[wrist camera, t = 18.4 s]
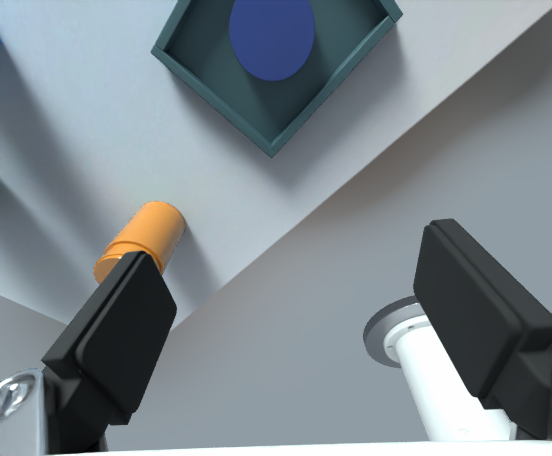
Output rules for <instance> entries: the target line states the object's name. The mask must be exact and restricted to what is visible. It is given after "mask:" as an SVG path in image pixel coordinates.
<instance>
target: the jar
mask: <svg viewBox="0 0 552 456" xmlns="http://www.w3.org/2000/svg"><path fill="white" fill-rule="evenodd" d="M185 227H186V226H185V220H184V218H183V216H182V214H181V213H180V212H179V211H178V210H177V209H176V208H175V207H173V206H171V205H169V204H167V203H164V202H159V201H153V202H148V203H146V204H144V205H142V206H141V207H140V208H139V210H138V211H137V212H136V213H135V214H134V216H133V217H132V218H131V219H130V220H129V221H128V223H127V224H126V225H125V226H124V227H123V228H122V230H121V231H120V232H119V233H118V234H117V235H116V237H115V238H114V239H113V240H112V241H111V242H110V244H109V245H108V246H107V247H106V249H105V251H104V255H103V257H101V258H100V259H99V260H98V261H97V262H96V264H95V266H94V275H95V279H96V280H97V282H98V283H99V284H101V283H102V281H103V280H104V279H105V278H106V276H107V275H108V274H109V273H110V271H111V270H112V269H113V267H114V266H115V265H116V264H117V262H118V261H119V260H120V258H121V257H122V256H123V255H124V254H125V253H126V252H132V251H145V252H146V253H147V254H150V255H151V256H152V257H153V259H154V261H155V263H156V265H157V268H158V270H159V272H160V274H161V276H162V275H163V273H164V271H165V269H166V267H167V265H168V263H169V261H170V259H171V257H172V255H173V253H174V251H175V249H176V247H177V245H178V243H179V241H180V239H181V237H182V235H183V233H184V231H185Z"/></svg>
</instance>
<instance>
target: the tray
mask: <svg viewBox="0 0 552 456" xmlns="http://www.w3.org/2000/svg"><path fill="white" fill-rule="evenodd" d="M235 1H236V0H178V1H177V3H176V5H175V7H174V9H173V11H172V13H171V15H170V16H169V18H168V20H167V22H166V24H165V26H164V28H163V30H162V31H161V33H160V35H159V37H158V39H157V41H156V43H155V45H154V46H153V48H152V50H151V53H152V54H153V55H154V56H155V57H156V58H157V59H158V60H160V61H161V62H162V63H163V64H164V65H165V66H167V67H168V68H169V69H170V70H171V71H172V72H173V73H175V74H176V75H177V76H178V77H179V78H180V79H181V80H183V81H184V82H185V83H186V84H187V85H188V86H189V87H191V88H192V89H193V90H194V91H195V92H196V93H197V94H199V95H200V96H201V97H202V98H203V99H204V100H206V101H207V102H208V103H209V104H210V105H211V106H212V107H214V108H215V109H216V110H217V111H218V112H219V113H220V114H222V115H223V116H224V117H225V118H226V119H227V120H228V121H230V122H231V123H232V124H233V125H234V126H235V127H237V128H238V129H239V130H240V131H241V132H242V133H243V134H245V135H246V136H247V137H248V138H249V139H250V140H251V141H253V142H254V143H255V144H256V145H257V146H258V147H259V148H261V149H262V150H263V151H264V152H265V153H266V154H267V155H269V156H270V157H271V158H272V157H273V156H274V155H275V154H276V152H278V151H279V150H280V149H281V147H282V146H283V145H284V144H285V143H286V142H287V141H288V140H289V139H290V138H291V136H292V135H293V134H294V133H295V132H296V131H297V130H298V129H299V128H300V127H301V126H302V124H303V123H304V122H305V121H306V120H307V119H308V118H309V117H310V116H311V115H312V114H313V112H314V111H315V110H316V109H317V108H318V107H319V106H320V105H321V104H322V103H323V102H324V100H325V99H326V98H327V97H328V96H329V95H330V94H331V93H332V92H333V91H334V90H335V88H336V87H337V86H338V85H339V84H340V83H341V82H342V81H343V80H344V79H345V78H346V76H347V75H348V74H349V73H350V72H351V71H352V70H353V69H354V68H355V67H356V66H357V64H358V63H359V62H360V61H361V60H362V59H363V58H364V57H365V56H366V55H367V54H368V52H369V51H370V50H371V49H372V48H373V47H374V46H375V45H376V44H377V43H378V42H379V40H380V39H381V38H382V37H383V36H384V35H385V34H386V33H387V32H388V31H389V30H390V28H391V27H392V26H393V25H394V24H395V23H396V22H397V21H398V20H399V19H400V17H401V16H402V15H403V13H402V11H401V10H400V8H399V7H398V5H397V4H396V2H395V1H394V0H309V3H310V5H311V8H312V11H313V15H314V20H315V37H314V43H313V47H312V50H311V53H310V55H309V57H308V59H307V60H306V62H305V64H304V65H303V66H302V67H301V68H300V69H299V70H298V71H297V73H295V74H293V75H292V76H290V77H288V78H286V79H284V80H280V81H265V80H261V79H259V78H257V77H255V76H253V75H252V74H250V73H249V72H247V70H246V69H245V68H244V67H243V66H242V65H241V64H240V62H239V60H238V59H237V57H236V55H235V53H234V50H233V47H232V44H231V40H230V26H229V25H230V17H231V12H232V9H233V6H234V3H235Z"/></svg>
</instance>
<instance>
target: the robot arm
mask: <svg viewBox="0 0 552 456" xmlns="http://www.w3.org/2000/svg"><path fill="white" fill-rule="evenodd" d="M413 289H414V293H415V296H416V298H417V300H418V301H419V303H420V305H421V307H422V309H423V310H424V312H425V314H426V315H422V316H417V317H414V318H411V319H408V320H406V321H403V322H401V323H400V324H398V325H396V326H395V327H394V328H392V329H391V330H390V331H389V332H388V334H387V335H386V337H385V339H384V342H383V346H384V349H385V352H386V354H387V356H388V357H389V358H390V359H392V360H393V361H395V362H397V363H400V365H401V367H402V370H403V373H404V375H405V378H406V381H407V383H408V386H409V388H410V391H411V394H412V396H413V399H414V401H415V404H416V407H417V409H418V412H419V414H420V417H421V420H422V422H423V425H424V428H425V430H426V433H427V435H428V438H429V440H430V441H426V442H425V441H424V442H388V443H351V444H319V445H318V444H317V445H286V446H257V447H256V446H255V447H226V448H196V449H169V450H143V451H118V452H108V448H107V442H106V438H105V430H106V428H107V426H108V424H110V425H128V423H129V420H130V418H131V415H132V413H134V412H136V410H137V409H138V407H139V405H140V403H141V400H142V398H143V395H144V393H145V390H146V388H147V385H148V383H149V380H150V378H151V375H152V373H153V371H154V368H155V366H156V363H157V361H158V358H159V356H160V353H161V351H162V348H163V346H164V343H165V341H166V338H167V336H168V333H169V331H170V328H171V326H172V324H173V321H174V319H175V316H176V313H177V307H176V304H175V302H174V300H173V298H172V296H171V294H170V292H169V290H168V288H167V286H166V284H165V282H164V280H163V278H162V276H161V274H160V272H159V270H158V268H157V265H156V263H155V261H154V259H153V257H152V256H151V255H150V254H147V253H146V252H145V251H132V252H126V253H125V254H124V255H123V256H122V257H121V258H120V260H119V261H118V262H117V264H116V265H115V266H114V267H113V269H112V270H111V271H110V273H109V274H108V275H107V276H106V278H105V279H104V280H103V281H102V283H101V284H100V285H99V287H98V288H97V289H96V290H95V292H94V293H93V294H92V296H91V297H90V298H89V299H88V301H87V302H86V303H85V304H84V306H83V307H82V308H81V310H80V311H79V312H78V313H77V315H76V316H75V317H74V319H73V320H72V321H71V322H70V324H69V325H68V326H67V328H66V329H65V330H64V331H63V333H62V334H61V335H60V336H59V338H58V339H57V340H56V341H55V343H54V344H53V345H52V347H51V348H50V349H49V351H48V352H47V353H46V354H45V356H44V357H43V358H42V359H41V361H42V362H43V363H44V364H45V365H46V367H45V368H44V369H43V371H40V370H39V369H37V368H28V369H24V370H20V371H18V372H16V373H14V374H11V375H9V376H8V377H7V378H5V379H3V380H2V381H0V456H552V314H551V313H550V312H549V311H548V310H547V309H546V308H545V307H544V306H543V305H542V304H541V303H540V302H539V301H538V300H537V299H536V298H535V297H534V296H533V295H532V294H531V293H529V292H528V291H527V290H526V289H525V288H524V287H523V286H522V285H521V284H520V283H519V282H518V281H517V280H516V279H515V278H514V277H513V276H512V275H511V274H510V273H509V272H508V271H507V270H506V269H505V268H504V267H503V266H502V265H501V264H500V263H499V262H498V261H496V260H495V259H494V258H493V257H492V256H491V255H490V254H489V253H488V252H487V251H486V250H485V249H484V248H483V247H482V246H481V245H480V244H479V243H478V242H477V241H476V240H475V239H474V238H473V237H472V236H471V235H470V234H469V233H468V232H467V231H466V230H464V228H462V227H461V226H460V225H459V224H458V223H457V222H456V221H455V220H454V219H442V220H433V221H431V223H430V224H429V225H428V226H425V228H424V232H423V237H422V242H421V248H420V254H419V258H418V263H417V269H416V274H415V279H414V284H413ZM502 409H504V411H505V412H506V414H507V415H508V417H509V419H510V420H511V421H512V424H510V422H509V421H508V419H507V417H506V416H505V414H504V413H503V411H502Z"/></svg>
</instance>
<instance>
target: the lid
mask: <svg viewBox="0 0 552 456" xmlns="http://www.w3.org/2000/svg"><path fill="white" fill-rule="evenodd" d="M229 26H230V40H231V44H232V47H233V50H234V53H235V55H236V57H237V59H238V60H239V62H240V64H241V65H242V66H243V67H244V68H245V69H246V70H247V72H249V73H250V74H252V75H253V76H255V77H257V78H259V79H261V80H265V81H280V80H284V79H286V78H288V77H290V76H292V75H293V74H295V73H297V71H298V70H299V69H300V68H301V67H302V66H303V65H304V64H305V62H306V60H307V59H308V57H309V55H310V53H311V50H312V47H313V43H314V37H315V20H314V15H313V11H312V8H311V5H310V3H309V0H236V1H235V3H234V6H233V9H232V12H231V17H230V25H229Z"/></svg>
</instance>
